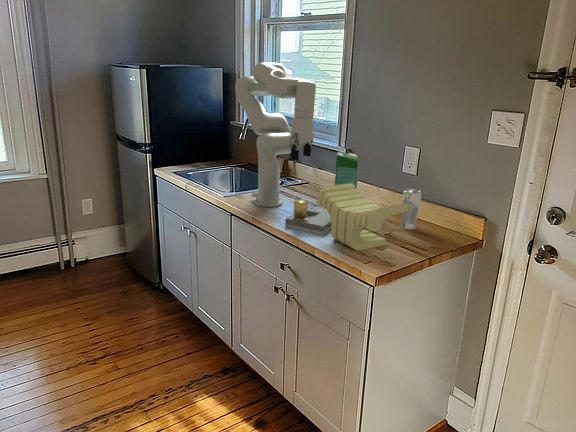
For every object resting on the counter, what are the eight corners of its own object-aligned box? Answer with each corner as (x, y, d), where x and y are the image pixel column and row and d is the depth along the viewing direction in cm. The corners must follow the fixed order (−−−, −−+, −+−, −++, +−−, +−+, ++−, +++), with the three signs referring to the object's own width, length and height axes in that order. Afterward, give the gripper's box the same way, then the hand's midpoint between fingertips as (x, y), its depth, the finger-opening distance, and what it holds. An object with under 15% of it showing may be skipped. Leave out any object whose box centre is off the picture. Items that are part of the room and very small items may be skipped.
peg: (290, 224, 185) (291, 202, 182) (297, 221, 189) (298, 199, 187) (302, 226, 183) (303, 204, 180) (308, 223, 187) (310, 201, 184)
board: (285, 226, 186) (285, 218, 185) (304, 216, 199) (304, 208, 198) (322, 234, 179) (322, 226, 178) (339, 223, 192) (340, 215, 191)
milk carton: (354, 213, 205) (358, 155, 198) (333, 211, 207) (336, 154, 199) (355, 207, 214) (359, 152, 206) (335, 205, 215) (338, 150, 208)
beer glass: (407, 231, 185) (411, 194, 180) (395, 226, 191) (399, 189, 186) (421, 229, 188) (425, 192, 184) (409, 223, 194) (413, 188, 189)
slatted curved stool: (315, 232, 180) (318, 187, 175) (349, 226, 188) (352, 182, 183) (367, 260, 156) (372, 208, 150) (403, 252, 164) (409, 202, 158)
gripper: (306, 111, 191) (303, 152, 197) (283, 115, 177) (281, 160, 183) (322, 113, 188) (319, 156, 194) (301, 117, 174) (297, 163, 179)
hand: (300, 158), depth 188 cm, fingers open, 9 cm apart
